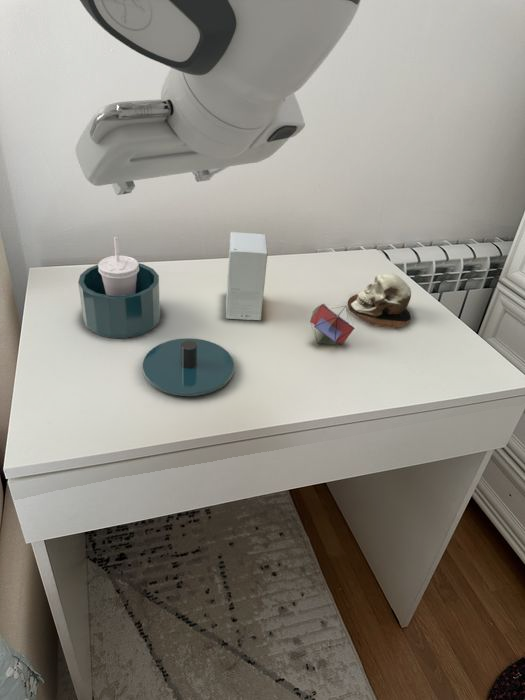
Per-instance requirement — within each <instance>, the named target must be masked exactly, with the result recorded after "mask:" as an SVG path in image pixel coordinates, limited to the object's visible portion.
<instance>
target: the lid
mask: <svg viewBox="0 0 525 700" xmlns="http://www.w3.org/2000/svg"><path fill="white" fill-rule="evenodd" d="M234 369H235V363H234V359H233V357H232V356H231V354H230V353H229V351H227V350H226V349H225V348H224V347H222V346H221V345H219V344H217V343H215V342H212V341H211V340H210V341H209V340H206V339H200V338H194V337H191V338H190V337H185V338H176V339H171V340H168V341H164V342H162V343H159V344H158V345H156V346H154V347H153V348H152V349H150V350H149V351H148V352H147V353H146V355H145V357H144V358H143V361H142V372H143V373H142V374H143V376H144V378H145V380H146V381H147V382H148V383H149V384H150V385H151V386H152V387H154V388H156V389H157V390H159V391H160V392H164V393H166V394H170V395H174V396H181V397H196V396H202V395H206V394H207V395H208V394H211V393H213V392H216V391H217V390H220V389H221V388H223V387H224V386H226V384H227V383H228V382H229V381H230V380H231V378H232V376H233V375H234Z"/></svg>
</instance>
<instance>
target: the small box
mask: <svg viewBox="0 0 525 700" xmlns="http://www.w3.org/2000/svg"><path fill="white" fill-rule="evenodd" d="M268 253H269V252H268V244H267V234H265V233H264V234H263V233H253V232H251V233H250V232H239V231H238V232H237V231H230V234H229V250H228V264H227V281H226V297H225V319H227V320H229V319H230V320H243V321H245V320H247V321H261V320H262V315H263V303H264V294H265V293H264V292H265V283H266V274H267V273H266V272H267V263H268Z"/></svg>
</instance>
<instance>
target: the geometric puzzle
mask: <svg viewBox="0 0 525 700" xmlns="http://www.w3.org/2000/svg"><path fill="white" fill-rule="evenodd" d="M337 306H338V307H337ZM337 306H336V309H338V308H339V307H341V308H342V307H343V309H342V310H341V311H340V312H339V314H337V313H335V312H334V311H333V310H332V309H334V307H332V308H329V307H328V305H327V304H325V303H320V305H318V306H316V308H314V309H313V310H312V311H311V316H310V320H309V322H310V325H311V326H313V327H311V328H312V330H313V335H314V337H315V339H318V337H317V336H316V334H317V333H316V331H315V330H318V332H320V333H322V334H323V335H322V337H321V338H320V340H319V341H316V343H317V344H318V345H323V342H321V341H322V340H323V339H324V338H325V336H326V337H327V338H328V339H330V340H331V341H332V342H333V343H336V344H332V343H331V341H329V342H326V344H329V343H330V344H331V345H333V346H334V345H337V346H338V345H339V346H343V344H344V343H345V342H346V340H347V339H348V338H349V337H350V336H351V334H352V332H353V331H354V330H356V328H355V327H354V326H353V324H354V323H353V320H352V319H350V321H351V323H352V325H351V324H350V323H349V321H347V320H346V319H343V318H342V317H341V314H342V312H343V311H344V309H346V311H347V314H348V315H346V316H347V319H349V317H351V316H350V315H351V314H350V313H349V311H348V307H347V305H340V304H339V305H338V304H337ZM314 329H315V330H314ZM320 342H321V343H320Z"/></svg>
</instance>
